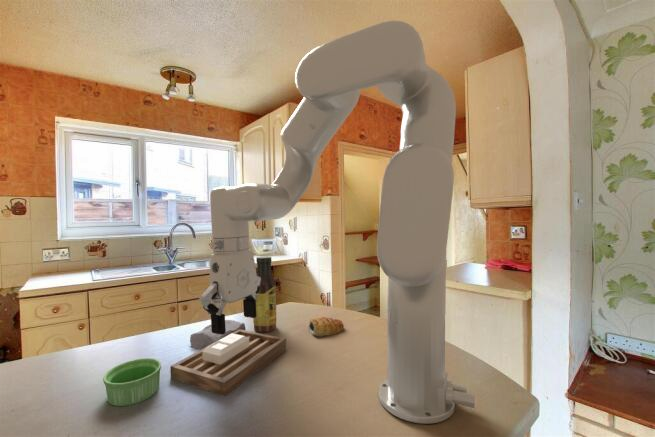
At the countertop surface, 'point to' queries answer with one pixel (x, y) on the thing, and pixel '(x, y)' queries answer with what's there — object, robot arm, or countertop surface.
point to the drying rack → (229, 364)
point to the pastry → (325, 326)
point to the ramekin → (132, 381)
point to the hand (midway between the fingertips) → (235, 324)
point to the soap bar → (225, 348)
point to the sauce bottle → (265, 297)
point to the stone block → (213, 334)
